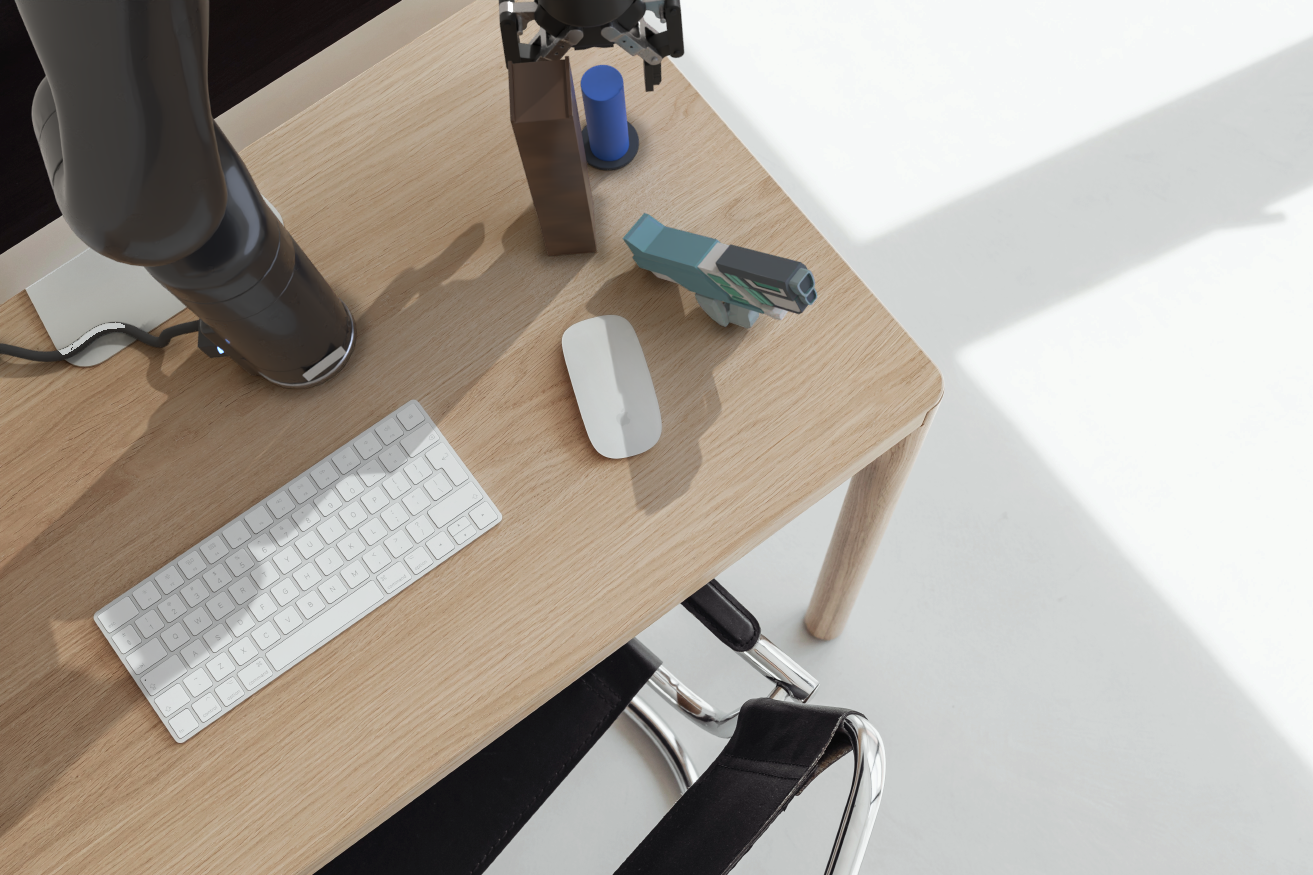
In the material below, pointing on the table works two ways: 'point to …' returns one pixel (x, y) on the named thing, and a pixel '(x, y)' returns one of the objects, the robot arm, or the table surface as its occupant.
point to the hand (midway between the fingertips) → (598, 87)
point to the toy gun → (722, 273)
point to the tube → (605, 112)
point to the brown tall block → (553, 153)
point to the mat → (615, 164)
